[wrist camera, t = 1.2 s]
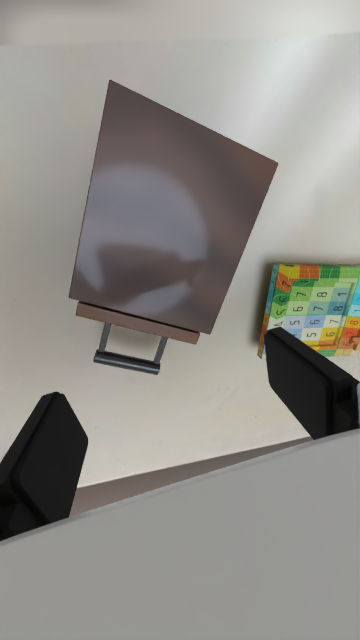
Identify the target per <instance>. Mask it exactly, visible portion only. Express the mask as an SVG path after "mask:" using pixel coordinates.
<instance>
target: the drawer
mask: <svg viewBox="0 0 360 640" xmlns="http://www.w3.org/2000/svg"><path fill="white" fill-rule="evenodd" d="M76 315H77V316H81V317H85V318H89V319H93V320H97V321H101V322H105V325H104V329H103V333H102V337H101V341H100V345H99V349H97V350H96V353H95V356H94V361H93V362H94V363H99V364H104V365H109V366H114V367H119V368H124V369H129V370H134V371H139V372H144V373H149V374H154V375H158V373H159V370H160V360H161V357H162V354H163V351H164V348H165V345H166V342H167V339H168V338H171V339H175V340H179V341H183V342H188V343H192V344H196V343H197V341H198V338H199V336H200V333H199V332H198V331H195V330H191V329H187V328H183V327H179V326H175V325H171V324H168V323H164V322H160V321H156V320H152V319H148V318H144V317H141V316H137V315H133V314H129V313H125V312H121V311H117V310H113V309H110V308H106V307H102V306H98V305H94V304H90V303H86V302H83V301H79V303H78V305H77V310H76ZM111 324H114V325H118V326H122V327H126V328H130V329H134V330H138V331H142V332H147V333H151V334H155V335H159V336H162V337H161V340H160V343H159V346H158V349H157V352H156V355H155V358H154V361H150V360H145V359H140V358H136V357H131V356H126V355H122V354H117V353H112V352H108V351H105V347H106V343H107V339H108V335H109V331H110V327H111Z"/></svg>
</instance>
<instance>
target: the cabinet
mask: <svg viewBox="0 0 360 640" xmlns="http://www.w3.org/2000/svg"><path fill="white" fill-rule="evenodd" d="M277 166H278V163H277V162H275V161H273V160H271V159H269V158H267V157H265V156H263V155H261V154H259V153H257V152H255V151H253V150H251V149H249V148H247V147H245V146H243V145H241V144H239V143H237V142H235V141H233V140H231V139H229V138H227V137H225V136H223V135H221V134H219V133H217V132H215V131H213V130H211V129H209V128H207V127H205V126H203V125H201V124H199V123H197V122H195V121H193V120H191V119H189V118H187V117H184V116H182V115H180V114H178V113H176V112H174V111H172V110H170V109H168V108H166V107H164V106H162V105H160V104H158V103H156V102H154V101H152V100H150V99H148V98H146V97H144V96H142V95H140V94H138V93H136V92H134V91H132V90H130V89H128V88H126V87H124V86H122V85H120V84H118V83H116V82H114V81H112V80H109V84H108V90H107V95H106V100H105V106H104V111H103V116H102V122H101V127H100V132H99V138H98V143H97V148H96V154H95V159H94V164H93V170H92V175H91V181H90V186H89V191H88V197H87V202H86V207H85V213H84V218H83V223H82V229H81V234H80V239H79V245H78V250H77V255H76V261H75V266H74V271H73V277H72V282H71V287H70V293H69V298H71V299H75V300H79V301H83V302H86V303H90V304H94V305H98V306H102V307H106V308H110V309H113V310H117V311H121V312H125V313H129V314H133V315H137V316H141V317H144V318H148V319H152V320H156V321H160V322H164V323H168V324H171V325H175V326H179V327H183V328H187V329H191V330H195V331H198V332H202V333H206V334H210V333H211V331H212V328H213V326H214V323H215V321H216V318H217V316H218V313H219V311H220V308H221V306H222V303H223V301H224V298H225V296H226V293H227V291H228V288H229V286H230V283H231V281H232V278H233V276H234V273H235V271H236V268H237V266H238V263H239V261H240V258H241V256H242V253H243V251H244V248H245V246H246V243H247V241H248V238H249V236H250V234H251V231H252V229H253V226H254V224H255V221H256V219H257V216H258V214H259V211H260V209H261V206H262V204H263V201H264V199H265V196H266V194H267V191H268V189H269V186H270V184H271V181H272V179H273V176H274V174H275V171H276V169H277Z"/></svg>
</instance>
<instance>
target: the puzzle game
mask: <svg viewBox="0 0 360 640" xmlns="http://www.w3.org/2000/svg"><path fill="white" fill-rule="evenodd" d="M276 327H282V328H283V329H285V330H286V331H288V332H289V333H291V334H292V335H294V336H295V337H296V338H298V339H299V340H301V341H302V342H304V343H305V344H307V345H308V346H309V347H311V348H312V349H314V350H315V351H317V352H318V353H320V354H321V355H322V356H355V355H360V266H352V265H314V264H273V270H272V275H271V281H270V287H269V292H268V298H267V303H266V309H265V314H264V320H263V326H262V331H261V337H260V342H259V348H258V353H257V355H258V356H259V357H260V358H261V359H266V352H265V344H264V334H267V330H269V329H273V328H276Z"/></svg>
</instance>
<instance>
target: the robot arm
mask: <svg viewBox="0 0 360 640" xmlns="http://www.w3.org/2000/svg"><path fill="white" fill-rule="evenodd" d="M264 344H265V352H266V361H267V370H268V378H269V383H270V386H271V388H272V389H273V390H274V392H275V393H276V394H277V395H278V397H279V398H280V399H281V400H282V401H283V403H284V404H285V405H286V406H287V407H288V409H289V410H290V411H291V412H292V414H293V415H294V416H295V417H296V418H297V420H298V421H299V422H300V423H301V425H302V426H303V427H304V428H305V429H306V431H307V432H308V433H309V434H310V436H311V437H312V438H313V439H314V440H313V441H310V442H306V443H303V444H300V445H296V446H292V447H289V448H286V449H282V450H279V451H276V452H273V453H270V454H266V455H263V456H260V457H257V458H254V459H250V460H247V461H244V462H241V463H238V464H234V465H231V466H228V467H225V468H221V469H218V470H215V471H212V472H209V473H206V474H202V475H199V476H196V477H193V478H190V479H187V480H184V481H180V482H177V483H174V484H171V485H168V486H165V487H162V488H158V489H155V490H152V491H149V492H146V493H143V494H140V495H137V496H133V497H130V498H127V499H124V500H121V501H118V502H115V503H112V504H109V505H106V506H103V507H100V508H97V509H93V510H90V511H87V512H84V513H81V514H78V515H75V516H72V517H69V514H70V511H71V507H72V503H73V499H74V496H75V492H76V488H77V484H78V480H79V477H80V473H81V469H82V465H83V462H84V458H85V454H86V450H87V446H88V437H87V435H86V433H85V431H84V430H83V428H82V426H81V424H80V422H79V420H78V419H77V417H76V415H75V413H74V411H73V410H72V408H71V406H70V404H69V402H68V401H67V399H66V397H65V395H64V394H60V393H59V392H53V393H50V394H46V395H43V396H42V397H41V399H40V400H39V402H38V404H37V405H36V407H35V408H34V410H33V412H32V413H31V415H30V416H29V418H28V420H27V421H26V423H25V424H24V426H23V428H22V429H21V431H20V432H19V434H18V436H17V437H16V439H15V441H14V442H13V444H12V445H11V447H10V449H9V450H8V452H7V453H6V455H5V457H4V458H3V460H2V461H1V463H0V640H360V382H359V381H358V380H356V379H355V378H353V376H351V375H350V374H349V373H347V372H346V371H344V370H343V369H341V368H340V367H338V366H337V365H336V364H334V363H333V362H331V361H330V360H328V359H327V358H325V357H324V356H322V355H321V354H320V353H318V352H317V351H315V350H314V349H312V348H311V347H309V346H308V345H307V344H305V343H304V342H302V341H301V340H299V339H298V338H296V337H295V336H294V335H292V334H291V333H289V332H288V331H286V330H285V329H283V328H282V327H276V328H273V329H269V330H267V334H264Z"/></svg>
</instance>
